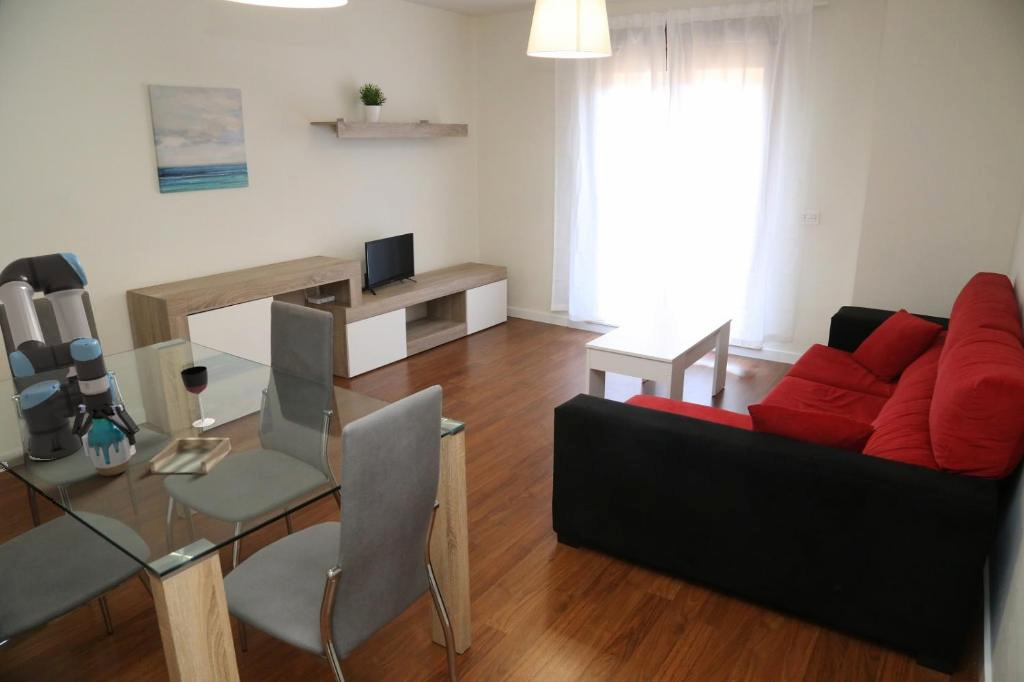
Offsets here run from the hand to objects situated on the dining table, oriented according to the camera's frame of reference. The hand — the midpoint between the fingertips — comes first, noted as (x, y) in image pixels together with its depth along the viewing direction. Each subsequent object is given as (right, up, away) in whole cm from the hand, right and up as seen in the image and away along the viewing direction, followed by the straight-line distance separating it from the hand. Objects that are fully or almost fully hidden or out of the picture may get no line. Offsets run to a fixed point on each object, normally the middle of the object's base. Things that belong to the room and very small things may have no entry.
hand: (111, 454), depth 214 cm
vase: (0, -6, +2) cm, 6 cm away
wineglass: (+13, +5, +35) cm, 38 cm away
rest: (+22, -3, +7) cm, 23 cm away
